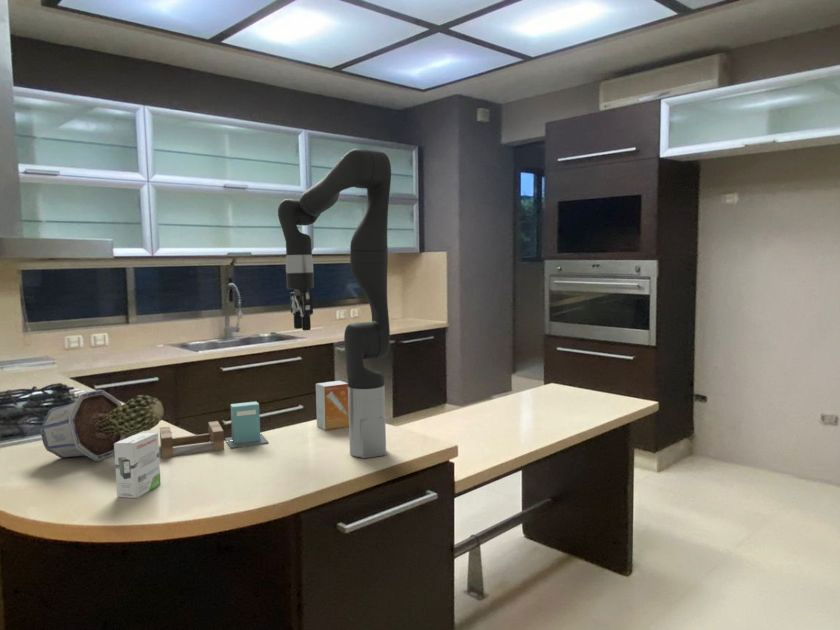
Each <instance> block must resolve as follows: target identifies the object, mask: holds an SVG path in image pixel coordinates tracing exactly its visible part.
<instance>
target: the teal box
mask: <svg viewBox="0 0 840 630" xmlns="http://www.w3.org/2000/svg"><path fill="white" fill-rule="evenodd" d="M260 417H261V416H260V404H259V402H257V401H249V402H248V401H246V402H239V403H231V404H230V420H231V421H230V423H231V437H232V440H233V442H234V444H235V443H243V442H250V441H258V440H261V437H260V433H261V418H260Z"/></svg>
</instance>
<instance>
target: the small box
mask: <svg viewBox="0 0 840 630" xmlns="http://www.w3.org/2000/svg"><path fill="white" fill-rule="evenodd" d="M315 403H316V404H315V405H316V406H315V407H316V427H318V428H320V429H323V430H324V431H326V430H327V431H328V430H334V429H340V428H347V427H348V428H349V406H348V382H345V381H342V380H335V381H326V382H318V383H315Z"/></svg>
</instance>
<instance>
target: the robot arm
mask: <svg viewBox="0 0 840 630" xmlns="http://www.w3.org/2000/svg"><path fill="white" fill-rule="evenodd" d="M391 179H392V166H391V161H390V158H389V156H388V155H387V153H385V152H383V151H380V150H372V149H366V148H365V149H364V148H354V149H351V150H349V151H348V152H346V153H345V154H344V155H343V156H342V157H341V158H340V159H339V160H338V161H337V163H336V164H335V165H334V166H333V167H332V168H331V169H330V170H329V172H328V173H326V175H325V176H323V178H322V179H321V180H320V181H318V182H317V183H316V184H313V185H312V186H311V187H310V188H308V189H307V190H305V191H304V192H303V193H302V194H301V195H300V199H293V198H286V199H283V200H281V202H280V203H279V205H278V208H277V217H278V220H279V224H280V226H281V229H282V233H283V237H284V240H285V252H286V255H285V256H286V259H285V272H286V273H285V276H286V277H285V278H286V281H285V282H286V289H287V290H293V292H290V293H289V297H290V299H289V301H290V314H292V316H293V327H294V329H296V330H298V329H299V330H300V329H302V331H311V317H312V315H313V314H314V309H313V308H314V306H313V305H314V304H313V292H312V291H308V290H309V289H313V288H314V287H315V281H314V279H315V276H314V261H313V256H312V255H313V252H312V237H311V236H310V235H308V234H307V233H303V232H301V231H300V229H299V227H298V226H305V227H306V226H310V225H313V224H314V223H315V222H316V221H317V220H318V219H319V217H320V216H321V214H322V213H324V212H325V211H327V210H329V209H330V208H332V207H333V206H334V205H335V204H336V203H337V201H338V200H339V197H340V192H343V191H345V190H347V189H351V188H356V189H357V188H358V189H365V190H366V203H365V205H366V206H365V210H364V213H363V216H362V218H361V220H360V222H359V224H358V225H357V227H356V229H355V231H354V234H353V235H352V238H351V240H350V246H349V247H350V249H349V250H350V251H349V253H350V254H349V255H350V256H349V257H350V265H349V267H350V272H351V274H352V276H353V279H354V280H355V281H356V283H357V285H358V286H359V288H360V289H361V290H362V293H363V294H364V296H365V298H366V299H367V301H368V303H369V309H370V313H371V321H367V322H353V323H348V324H347V325H346V327H345V330H344V338H343V340H344V341H343V342H344V343H343V344H344V355H345V367H346V369H345V370H346V379H347V383H348V406H349V426H348V434H349V435H348V436H349V437H348V439H349V454H350V455H351V456H353V457H356V458H361V459H368V458H376V457H380V456H386V455H387V454H386V453H387V437H386V435H387V434H386V399H385V398H386V397H385V396H386V395H385V394H386V393H385V388H386V387H385V375H384V374H383V373H382V372H379V371H376V370H372V369H369V368H368V367H366V366H365V364H364V360H369V359H380V358H384V357H385V358H386V356H387V355H388V353H389V351H390V345H391V330H390V319H389V307H388V304H389V303H388V268H389V267H388V263H389V261H388V260H389V259H388V257H389V256H388V253H389V252H388V249H389V248H388V222H389V219H388V215H389V213H388V212H389V205H390V204H389V203H390V202H389V201H390V194H391V193H390V191H391V184H392V183H391Z"/></svg>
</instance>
